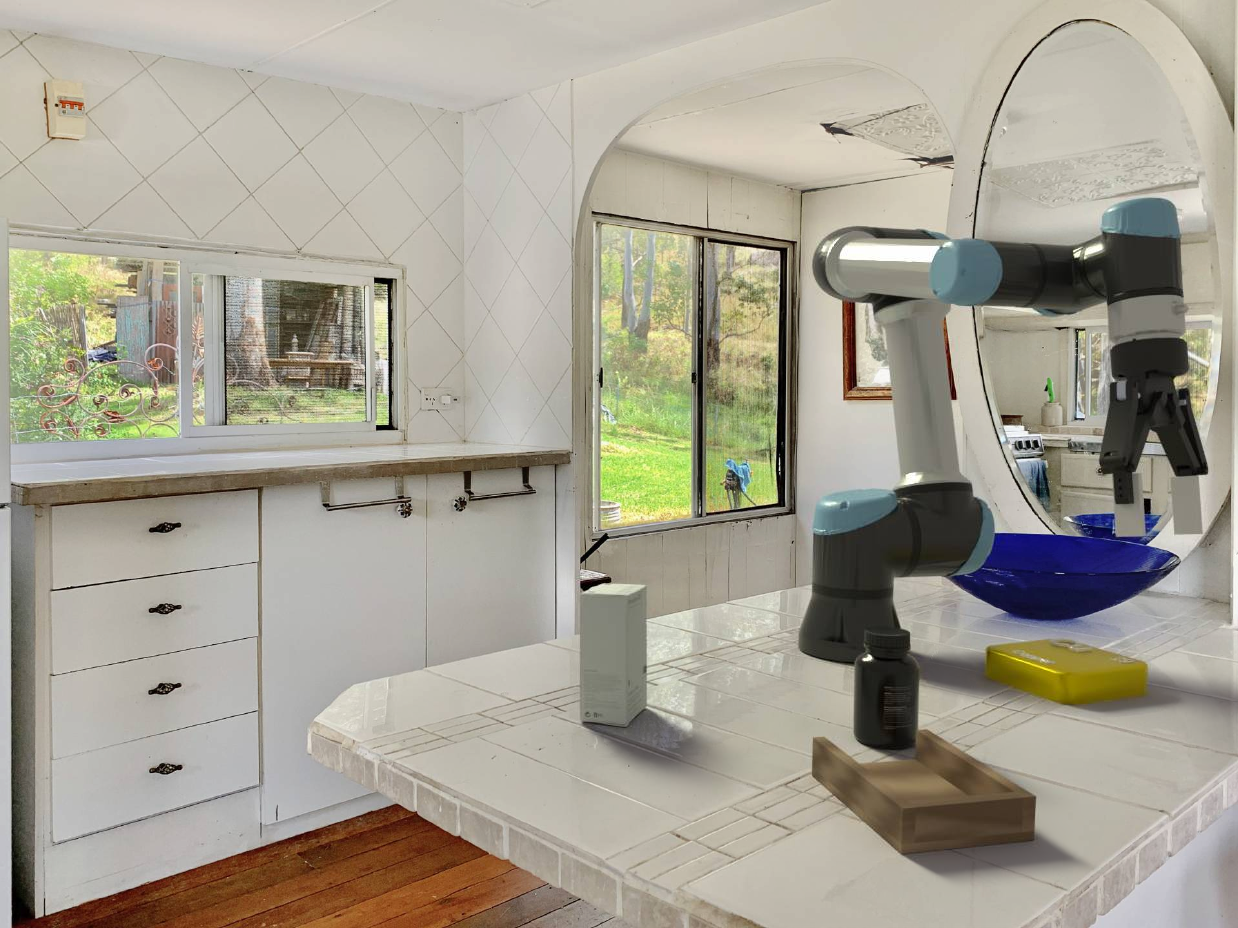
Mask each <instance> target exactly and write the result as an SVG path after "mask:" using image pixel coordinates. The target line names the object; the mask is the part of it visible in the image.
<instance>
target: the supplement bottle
mask: <svg viewBox="0 0 1238 928" xmlns="http://www.w3.org/2000/svg"><path fill="white" fill-rule="evenodd" d="M864 647H865V648H866V651H865V652H863V653H861V654H860V655H859V656H858V657H857V658H856V660H855V662H854V669H853V670H854V674H853V675H854V676H853V677H854V678H853V682H854V683H853V719H852V720H853V723H852V725H853V726H852V727H853V728H852V729H853V736H854V738H855V739H856V740H857V741H858V742H859V743H861V744H863V745H866V746H869V747H873V748H877V749H878V748H879V749H885V750H886V749H887V750H897V749H899V750H900V749H906V748H909V747H912V746H914V745H916V730H919V708H920V707H919V705H920V704H919V703H920V665H919V662H918V660H917V659H916V658H915V657H914V656H913V655H911V654H909V651H911V649H912V648H911V647H912V645H911V632H910V631H909V630H908V629H904V628H902V627H901V628H895V627H870V628H867V629H865V641H864Z"/></svg>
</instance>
